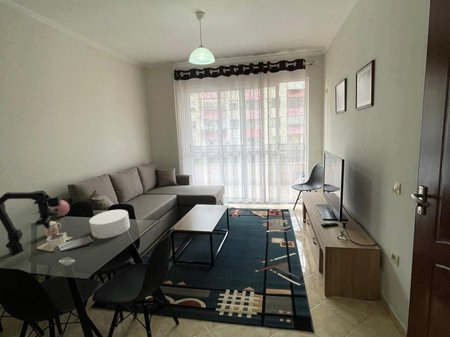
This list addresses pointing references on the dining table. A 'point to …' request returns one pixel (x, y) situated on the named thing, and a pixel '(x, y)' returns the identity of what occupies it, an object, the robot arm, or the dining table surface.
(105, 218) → the plate stack
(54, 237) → the plunger
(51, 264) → the dining table surface
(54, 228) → the teacup with lid
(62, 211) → the balloon
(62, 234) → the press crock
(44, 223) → the robot arm
